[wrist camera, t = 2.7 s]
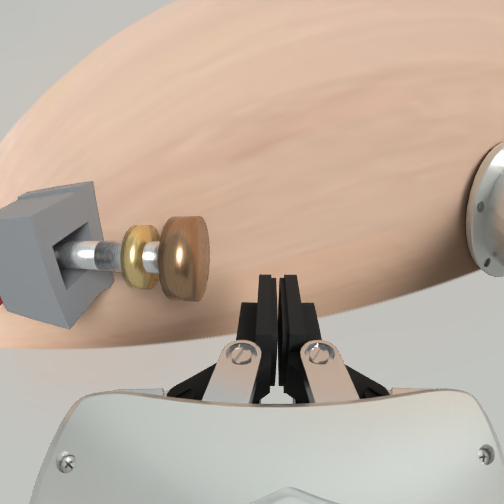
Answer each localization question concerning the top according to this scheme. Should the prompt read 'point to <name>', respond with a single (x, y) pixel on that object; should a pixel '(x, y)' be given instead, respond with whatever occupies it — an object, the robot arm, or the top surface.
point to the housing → (49, 254)
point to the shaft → (149, 257)
